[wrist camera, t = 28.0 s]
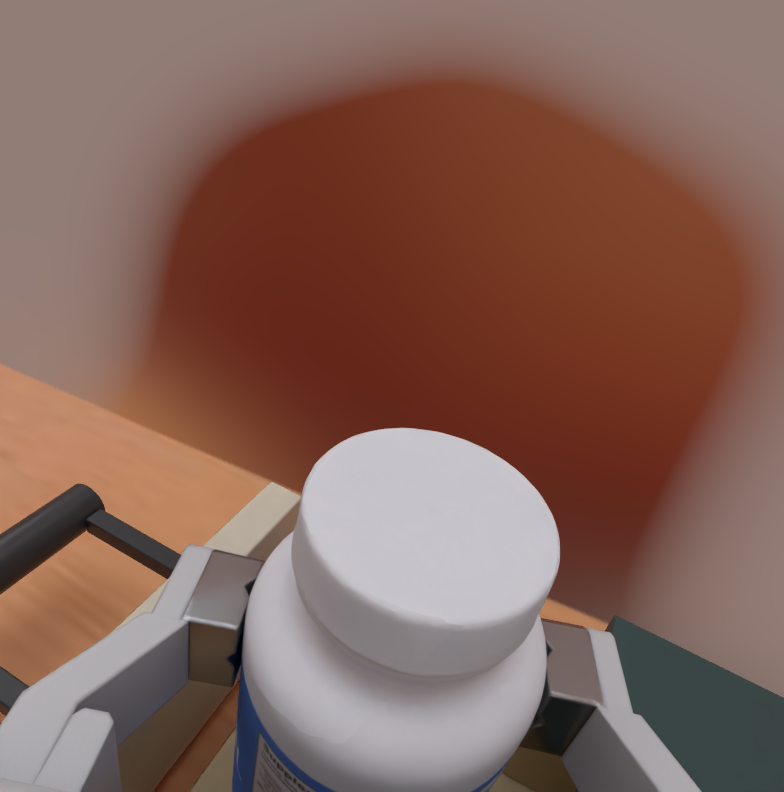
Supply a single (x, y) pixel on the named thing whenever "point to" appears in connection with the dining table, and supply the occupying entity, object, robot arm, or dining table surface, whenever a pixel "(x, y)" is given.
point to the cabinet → (703, 713)
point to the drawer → (195, 703)
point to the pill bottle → (397, 623)
